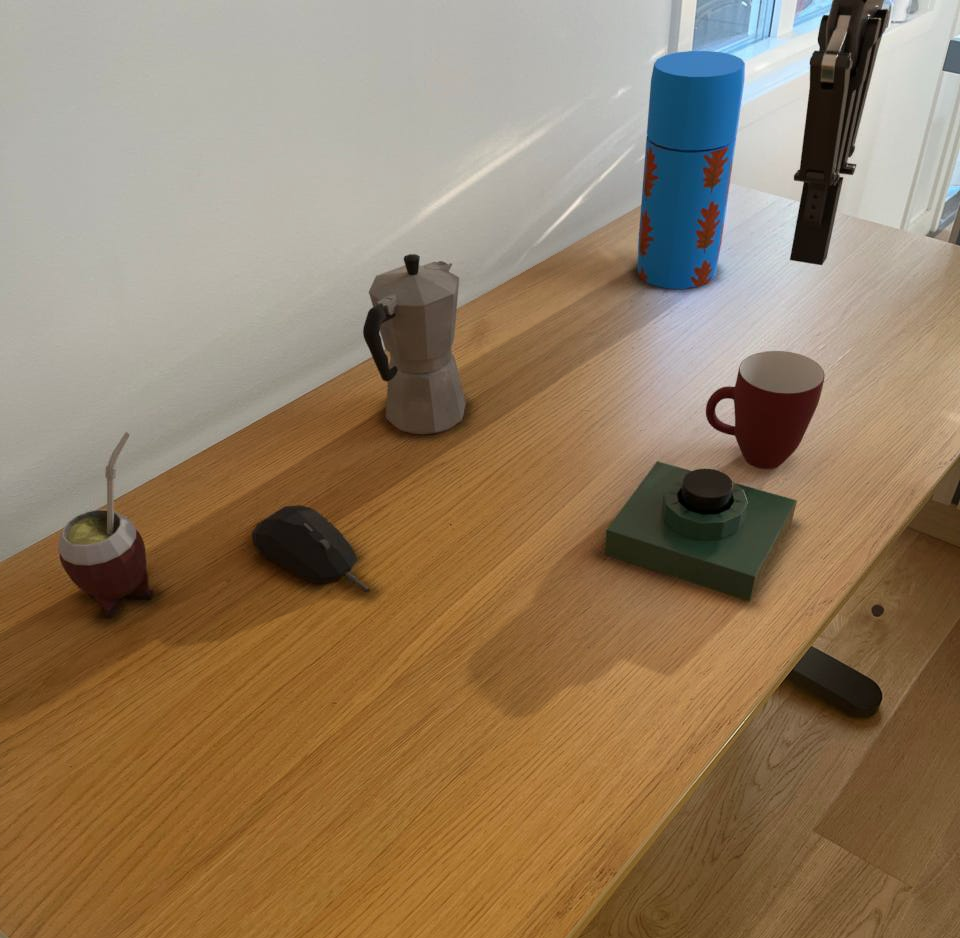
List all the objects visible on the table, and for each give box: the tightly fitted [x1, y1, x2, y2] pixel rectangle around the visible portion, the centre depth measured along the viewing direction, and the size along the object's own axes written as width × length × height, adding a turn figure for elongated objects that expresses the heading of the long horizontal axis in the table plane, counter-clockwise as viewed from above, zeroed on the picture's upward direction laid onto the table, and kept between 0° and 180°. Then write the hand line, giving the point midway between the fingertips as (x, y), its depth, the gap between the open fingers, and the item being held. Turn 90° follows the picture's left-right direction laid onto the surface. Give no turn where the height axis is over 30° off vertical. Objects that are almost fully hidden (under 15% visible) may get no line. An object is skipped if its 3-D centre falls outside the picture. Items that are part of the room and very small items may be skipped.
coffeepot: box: [362, 253, 467, 435], centre depth 99 cm, size 15×9×18 cm, turn 150°
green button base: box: [604, 460, 798, 602], centre depth 87 cm, size 14×12×5 cm
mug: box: [705, 350, 826, 470], centre depth 94 cm, size 10×8×10 cm
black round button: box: [680, 468, 734, 515], centre depth 85 cm, size 4×4×2 cm
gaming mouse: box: [251, 504, 371, 593], centre depth 88 cm, size 6×15×4 cm, turn 48°
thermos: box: [637, 50, 746, 290], centre depth 119 cm, size 11×11×25 cm
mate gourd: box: [57, 431, 155, 619], centre depth 82 cm, size 8×8×15 cm
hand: (808, 258), depth 80 cm, fingers closed
